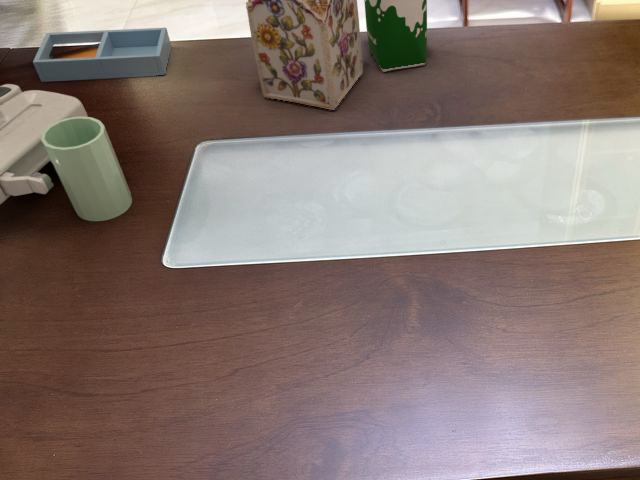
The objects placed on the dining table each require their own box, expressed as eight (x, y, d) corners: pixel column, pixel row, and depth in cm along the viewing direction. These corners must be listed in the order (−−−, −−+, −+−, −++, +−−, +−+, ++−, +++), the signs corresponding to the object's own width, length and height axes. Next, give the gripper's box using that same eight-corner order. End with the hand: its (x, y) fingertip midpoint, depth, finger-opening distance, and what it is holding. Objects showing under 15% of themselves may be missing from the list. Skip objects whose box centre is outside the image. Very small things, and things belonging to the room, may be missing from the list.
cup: (85, 228, 85) (51, 156, 78) (67, 200, 89) (33, 128, 81) (140, 208, 88) (112, 136, 81) (121, 181, 92) (92, 110, 84)
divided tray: (41, 82, 107) (32, 62, 104) (54, 52, 113) (46, 32, 110) (165, 75, 109) (159, 55, 107) (171, 46, 115) (166, 27, 113)
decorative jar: (335, 113, 103) (319, -17, 90) (261, 99, 105) (234, -30, 92) (365, 74, 111) (355, -52, 97) (296, 61, 113) (276, -64, 99)
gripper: (-109, 167, 78) (1, 191, 76) (16, 76, 91) (113, 94, 89) (-78, 214, 83) (27, 237, 80) (38, 121, 96) (130, 139, 93)
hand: (73, 161), depth 85 cm, fingers open, 8 cm apart
